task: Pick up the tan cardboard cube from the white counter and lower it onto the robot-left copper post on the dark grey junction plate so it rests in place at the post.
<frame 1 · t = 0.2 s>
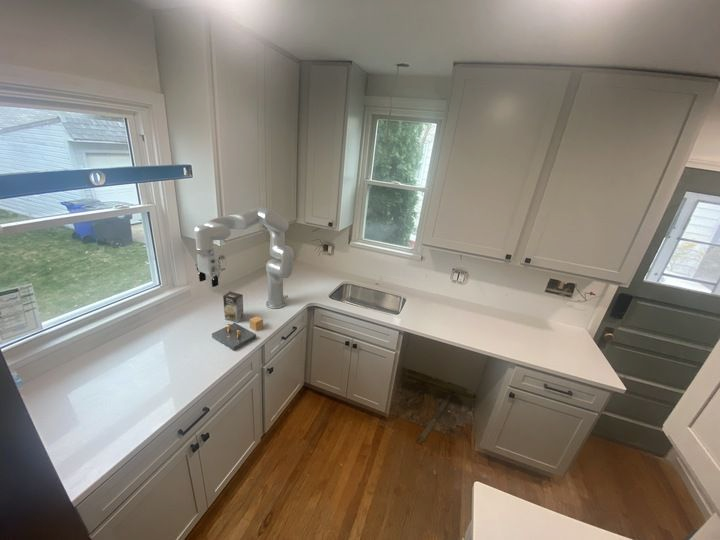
hand: (209, 283, 147), 31 cm above the worktop, fingers open, 9 cm apart
junction plate: (234, 337, 157), on the worktop
coffee box: (234, 319, 174), on the worktop
tan cardboard cube: (256, 327, 168), on the worktop
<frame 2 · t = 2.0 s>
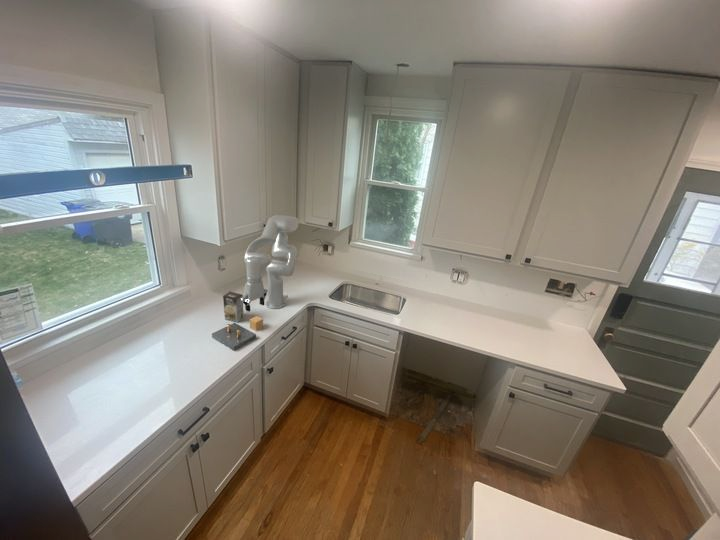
hand: (255, 307, 163), 13 cm above the worktop, fingers open, 9 cm apart
nothing on the worktop moved.
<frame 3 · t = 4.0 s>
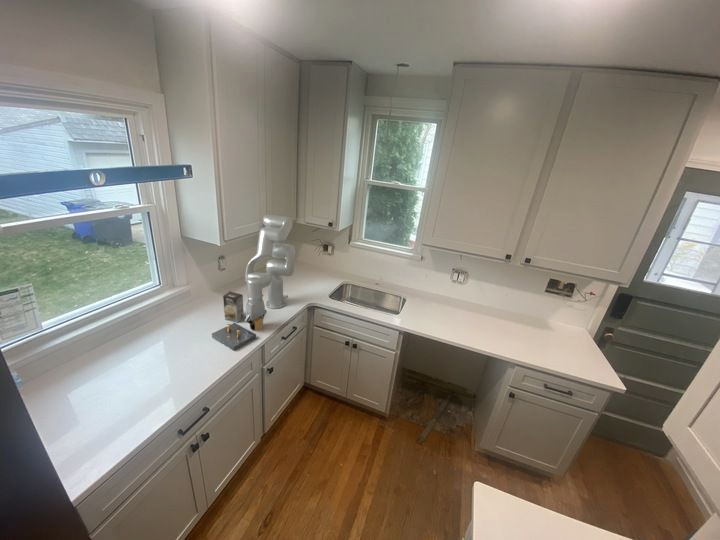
hand: (256, 326, 168), 0 cm above the worktop, fingers closed on tan cardboard cube, 4 cm apart
tan cardboard cube: (256, 327, 168), on the worktop, touching gripper
everything else where it was.
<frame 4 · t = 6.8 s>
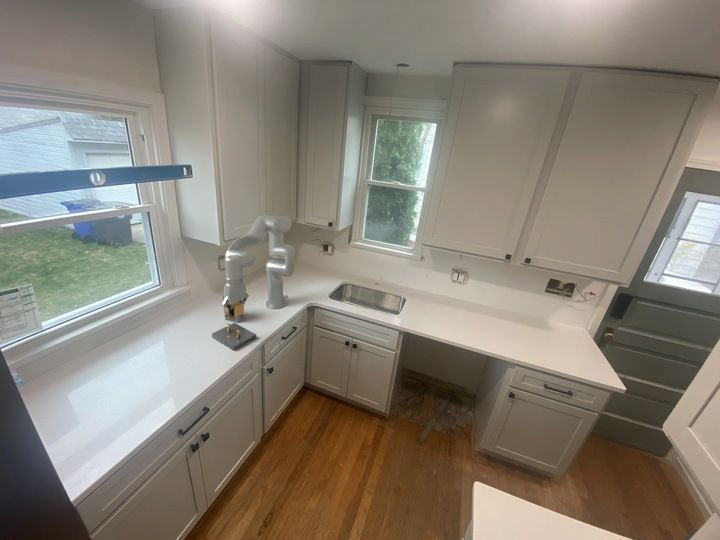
hand: (236, 312, 149), 18 cm above the worktop, fingers closed on tan cardboard cube, 4 cm apart
tan cardboard cube: (236, 313, 149), point 17 cm above the worktop, touching gripper
everything else where it was.
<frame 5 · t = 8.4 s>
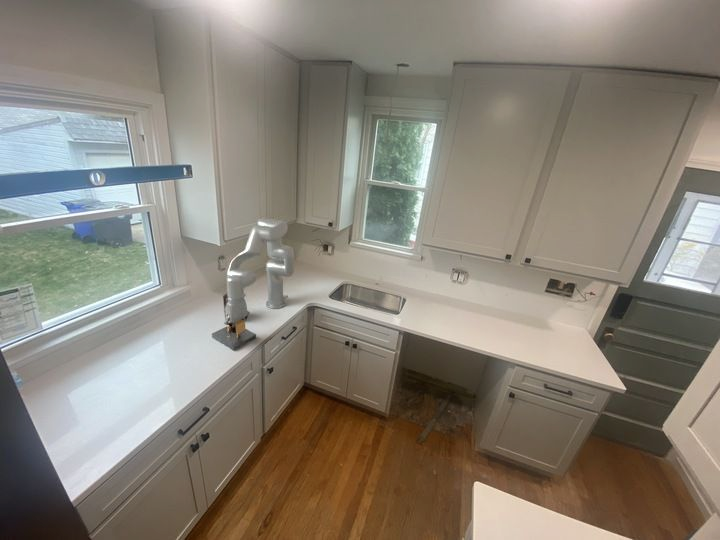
hand: (238, 329, 153), 7 cm above the worktop, fingers closed on tan cardboard cube, 4 cm apart
tan cardboard cube: (238, 330, 153), point 7 cm above the worktop, touching gripper
everything else where it was.
when the fingers open (4 cm above the worktop, at t = 9.8 s): tan cardboard cube drops 1 cm, resting on junction plate.
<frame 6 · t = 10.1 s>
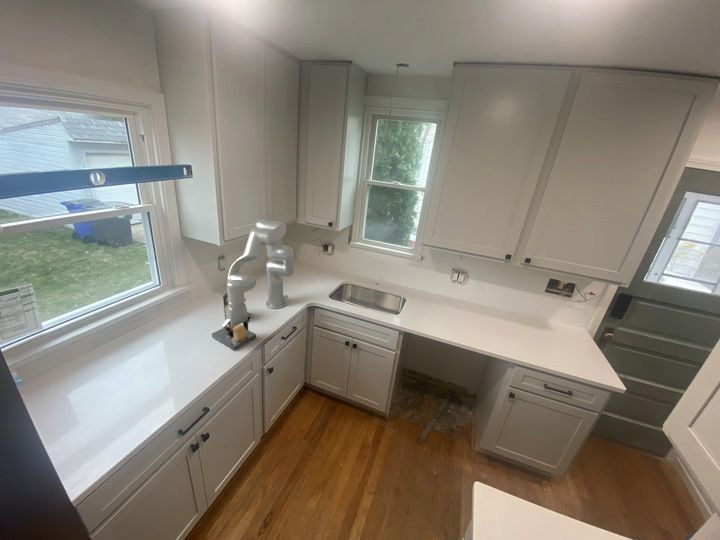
hand: (238, 332, 154), 5 cm above the worktop, fingers open, 8 cm apart
tan cardboard cube: (239, 336, 155), point 2 cm above the worktop, touching junction plate
everything else where it was.
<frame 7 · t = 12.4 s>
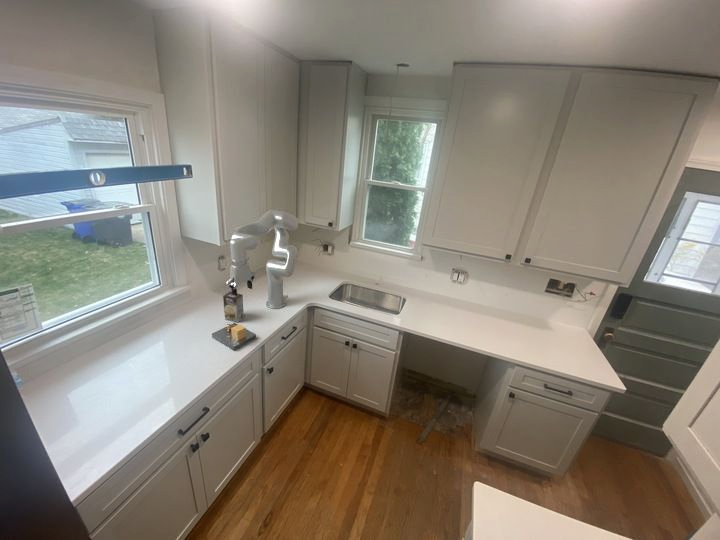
hand: (242, 291, 155), 25 cm above the worktop, fingers open, 9 cm apart
nothing on the worktop moved.
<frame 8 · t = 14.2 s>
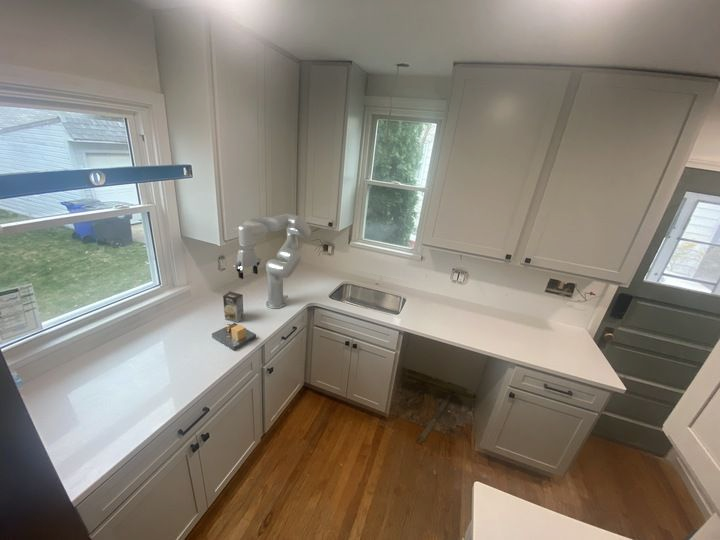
hand: (248, 275, 166), 28 cm above the worktop, fingers open, 9 cm apart
nothing on the worktop moved.
at the end: tan cardboard cube 0.1 cm from the target spot on the junction plate, point 2.5 cm above the junction plate's base; tan cardboard cube tilted 0°; the gripper is holding nothing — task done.
